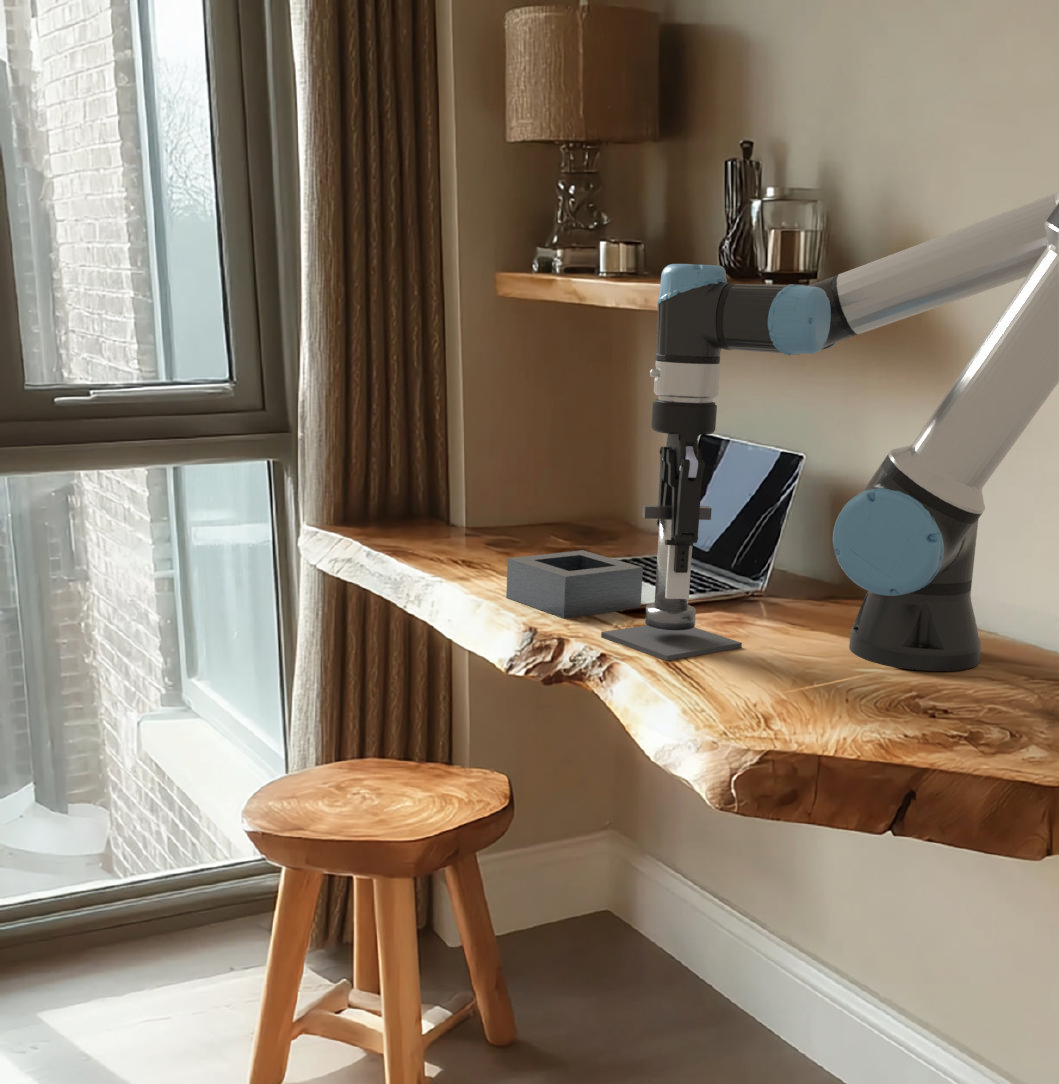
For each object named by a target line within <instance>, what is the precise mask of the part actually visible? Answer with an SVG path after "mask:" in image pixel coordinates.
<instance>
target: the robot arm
mask: <svg viewBox="0 0 1059 1084" xmlns="http://www.w3.org/2000/svg"><path fill="white" fill-rule="evenodd" d="M726 274H727V272H726V269H725V267H724V266H722V265H717V264H716V265H715V264H692V263H691V264H690V263H671V264H668V265H666V266H665V267H664V268H663V269H662V272H661V274H660V275H661V276H660V286H659V294H658V300H657V302H656V305H657V321H656V326H657V327H656V345H655V346H656V347H655V348H656V349H655V357H654V358H655V362H654V363H655V368H651V369H650V371H649V376H650V377H651V378H654V381H653V382H654V383H653V394H655V395H656V396H658V398H656V399H654V401H652V406H651V407H652V408H651V423H650V424H651V430H652V431H655V432H656V433H661V434H667V439H666V446H660V449H659V451H658V452H659V464H660V465H659V466H660V467H659V483H658V503H657V505H671V506H672V526H671V540H665V545H668V558H667V574H666V591H665V598H666V599H688V600H689V599H690V589H691V588H690V587H691V569H692V556H693V555H692V554H693V545H694V544H697V543H698V540H699V525H700V520H699V514H700V506H701V499H702V488H703V487H702V486H703V478H704V477H703V476H704V472H705V467H706V463H705V460H704V459H702V458H703V457H702V450H701V449H699V441H698V440H699V436H707V435H712V434H714V433H715V431H716V429H717V428H716V425H717V413H718V412H717V411H718V405H717V404H716V401H715V402H714V401H713V399H715V398H717V397H718V396H719V389H720V388H719V387H720V376H721V375H720V371H721V352H722V350H725V351H745V352H758V353H771V354H772V353H773V354H783V355H785V356H791V355H793V356H799V355H814V354H817V353H819V352H820V351H824V350H827V349H829V348H832V347H833V346H835V345H836V344H837V343H839V342H841V341H844V340H847V339H850V338H853V337H855V336H857V335H861V334H863V333H867V332H869V331H873V330H875V329H878V328H881V327H883V326H887V325H891V324H892V323H895V322H898V321H901V320H902V321H903V320H905V319H907V318H910V317H913V316H915V315H919V314H921V313H924V312H927V311H931V310H934V309H937V308H939V307H942V306H945V305H948V304H951V303H954V302H957V301H960V300H962V299H965V298H969V297H971V296H974V295H977V294H980V293H983V292H986V291H988V290H992V289H995V288H997V287H1000V286H1003V285H1006V284H1009V283H1013V282H1015V281H1017V280H1021V279H1024V280H1023V282H1022V283H1021V284H1020V285H1019V287H1018V289H1017V290H1016V291H1015V294H1013V296H1012V298H1011V299H1010V301H1008V303H1007V305H1006V306H1005V308H1004V310H1003V311H1002V312H1001V314H999V317H998V318H997V320H996V321H995V323H994V324H993V326H992V327H991V328H990V330H989V331H988V333H987V334H986V335H985V337H984V339H983V340H982V341H981V342H980V344H979V346H978V348H976V350H975V351H974V353H973V355H971V357H970V359H969V361H968V362H967V363H966V365H965V366H964V368H963V369H962V371H961V372H960V374H959V375H958V376H957V378H956V380H954V383H953V384H952V385H951V387H950V388H949V389H948V391H947V393H946V394H945V396H944V397H943V399H942V400H941V402H940V403H939V404H938V406H937V407H936V409H935V410H934V412H933V413H932V414H931V416H930V418H929V419H928V420H927V422H926V423H925V425H924V426H923V428H921V431H920V432H919V434H918V435H917V436H916V438H915V440H914V441H913V442H912V443H911V444H910V445H907V446H902V447H897V448H891V450H890V451H889V452H888V454H887V455H886V456H885V458H884V459H883V461H882V462H881V464H880V465H879V467H878V468H877V469H876V472H875V473H873V475H872V477H871V479H870V480H869V481H868V483H867V484H866V486H865V487H864V488H863V490H862V491H861V492H859V493H858V494H856V495H855V496H852V497H851V499H850V500H849V501H847V502H846V503H845V504H844V506H843V507H842V509H841V511H840V512H839V513H838V516H837V518H836V520H835V523H834V527H833V531H832V546H833V550H834V551H833V552H834V555H835V558H836V561H837V563H838V565H839V567H841V570H842V571H843V572H844V574H845V575H846V576H847V577H848V579H850V580H851V582H853V583H854V584H855V585H857V586H859V587H860V588H862V589H863V590H865V591H867V592H866V594H865V597H864V598H863V601H862V604H861V605H860V608H859V611H858V612H857V615H856V619H855V620H854V623H853V625H852V627H851V629H850V632H849V633H850V635H849V644H848V646H849V647H848V648H849V650H850V652H852V653H853V654H854V655H856V656H857V657H859V658H862V659H864V660H867V661H869V662H873V663H876V664H880V665H883V666H888V667H889V666H890V667H893V668H899V669H905V670H913V669H915V671H925V672H954V671H962V670H963V671H964V670H968V669H971V668H975V667H976V666H978V665H979V664H980V660H981V650H982V642H981V639H980V637H979V631H978V625H977V621H976V616H975V612H974V608H973V602H972V596H971V594H972V592H971V591H972V584H973V583H972V582H973V577H974V575H973V573H974V566H975V555H976V547H977V537H978V527H979V518H980V517H982V514H983V513H984V511H986V510H985V509H986V505H985V500H984V496H983V488H984V486H985V485H986V484H987V483H988V481H989V479H991V477H992V476H993V474H994V473H995V471H996V470H997V468H998V467H999V466H1000V464H1001V463H1002V461H1003V460H1004V459H1005V457H1006V456H1007V455H1008V453H1009V452H1010V451H1011V449H1012V447H1014V445H1015V444H1016V442H1017V441H1018V439H1019V438H1020V437H1021V436H1022V434H1023V432H1024V431H1025V430H1026V428H1027V427H1028V426H1029V424H1031V423H1030V422H1032V420H1033V418H1035V415H1037V413H1038V412H1039V410H1040V409H1041V407H1042V406H1043V405H1044V403H1045V402H1046V400H1047V399H1048V398H1049V397H1050V395H1051V393H1052V392H1053V391H1054V389H1055V388H1056V386H1057V385H1058V384H1059V189H1058V190H1057V191H1056V192H1055V193H1053V194H1050V195H1047V196H1045V197H1042V198H1039V199H1037V200H1034V201H1031V202H1028V203H1025V204H1023V205H1021V206H1018V207H1015V208H1013V209H1009V210H1007V211H1003V212H1002V213H1000V214H996V215H993V216H992V217H989V218H986V219H983V220H981V221H978V222H975V223H972V224H969V225H967V226H964V227H962V228H961V227H960V228H959V229H957V230H953V231H952V232H949V233H946V234H944V235H940V236H937V237H934V238H933V239H929V240H927V241H924V242H922V243H918V244H917V245H914V246H911V247H907V248H906V249H903V250H900V251H898V252H895V253H892V254H889V255H887V256H885V257H881V258H879V259H876V260H874V261H870V262H868V263H865V264H864V265H860V266H857V267H855V268H852V269H849V270H847V271H844V272H841V273H838V274H837V275H834V276H831V277H828V278H825V279H821V280H819V281H817V282H813V283H811V284H809V285H804V284H796V283H794V284H792V283H791V284H763V283H762V284H759V283H758V284H755V283H753V284H750V283H749V284H748V283H744V284H743V283H742V284H741V283H733V282H727V281H728V279H727V276H726ZM659 521H660V519H656V525H657V527H658V528H659ZM687 532H688V533H687Z"/></svg>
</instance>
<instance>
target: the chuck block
mask: <svg viewBox="0 0 1059 1084" xmlns="http://www.w3.org/2000/svg"><path fill="white" fill-rule="evenodd" d="M506 564H507V567H506V595H505V597H506V598H507V599H509V600H511V601H514V602H517V603H520V604H522V605H526V606H528V607H531V608H534V609H536V610H540V611H542V612H544V613H548V614H551V615H553V616H556V617H559V618H561V619H569V618H576V617H582V616H589V615H598V614H605V613H610V612H617V611H619V612H620V611H624V610H632V609H639V608H640V609H641V608H642V607H641V606H642V591H643V590H642V589H643V588H642V587H643V574H644V573H643V572H644V568H643V566H640V565H635V564H633V563H629V562H625V561H621V560H618V559H616V558H611V557H607V556H605V555H601V554H597V553H594V552H591V551H588V550H584V549H581V550H573V551H563V552H555V553H554V552H553V553H545V554H535V555H527V556H519V557H518V556H516V557H508V558H507V563H506Z"/></svg>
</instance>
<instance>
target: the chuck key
mask: <svg viewBox="0 0 1059 1084" xmlns="http://www.w3.org/2000/svg"><path fill="white" fill-rule="evenodd" d="M642 518H643V519H653V520H654V519H655V520H658V519H660V521H659V527H658V540H657V554H656V555H657V556H656V570H655V571H656V575H655V576H656V577H655V591H654V602H651V603H648V604H646V605H645V620H644V624H645V625H648V626H650V627H653V628H657V629H663V630H688V629H692V628H694V627H695V626H696V617H697V616H696V612H697V609H696V607H694V606H691V605H690V604H689V599H666V598H665V591H666V574H667V558H668V545H665V540H671V526H672V506H671V505H658V504H643V505H642ZM701 520H702V521H711V520H712V507H711V506H707V505H703V506H702V505H700V514H699V521H701ZM687 533H688V532H687ZM695 628H696V627H695Z"/></svg>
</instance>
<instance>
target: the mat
mask: <svg viewBox="0 0 1059 1084" xmlns="http://www.w3.org/2000/svg"><path fill="white" fill-rule="evenodd" d="M600 637H601V638H603V639H606V640H609V641H611V642H614V643H617V644H620V645H622V646H625V647H628V648H630V649H633V650H636V651H639V652H642V653H643V654H644V653H645V654H647V655H650V656H652V657H655V658H657V659H661V660H663V661H666V662H667V661H669V662H670V661H675V660H680V659H686V658H690V657H695V656H702V655H706V654H713V653H719V652H724V651H729V650H735V649H742V648H743V647H742V646H743V645H742V644H743V643H742V642H741V641H738V640H735V639H731V638H729V637H726V636H722V635H719V634H717V633H713V632H710V631H707V630H704V629H702V628H699V627H694V628H692V629H688V630H663V629H657V628H653V627H650V626H648V625H646V624H645V625H639V626H632V627H626V628H620V629H614V630H613V629H612V630H606V631H601V633H600Z"/></svg>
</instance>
